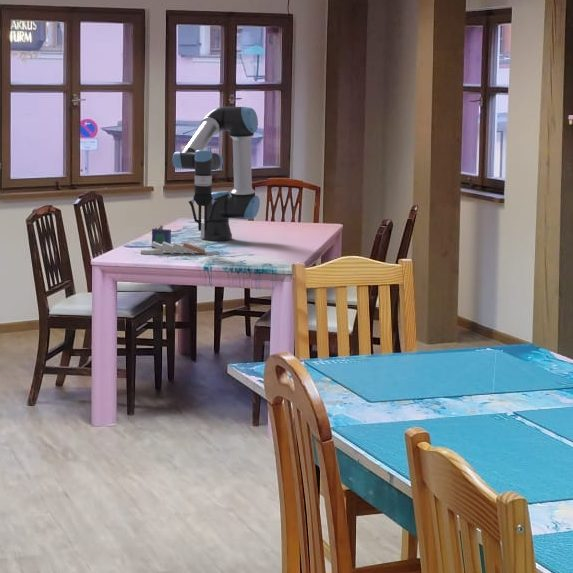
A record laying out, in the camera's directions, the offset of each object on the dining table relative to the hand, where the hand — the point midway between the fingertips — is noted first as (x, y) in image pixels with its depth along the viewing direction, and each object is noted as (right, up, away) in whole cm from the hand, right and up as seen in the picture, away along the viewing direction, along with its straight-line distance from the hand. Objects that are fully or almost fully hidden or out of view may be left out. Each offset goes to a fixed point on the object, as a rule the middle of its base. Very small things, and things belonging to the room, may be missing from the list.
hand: (202, 237), depth 531 cm
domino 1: (-17, -6, -1) cm, 18 cm away
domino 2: (-13, -6, 0) cm, 14 cm away
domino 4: (-4, -6, +1) cm, 7 cm away
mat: (-7, -7, +1) cm, 10 cm away
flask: (-20, -4, +16) cm, 26 cm away
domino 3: (-8, -6, 0) cm, 11 cm away
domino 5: (+1, -6, +1) cm, 6 cm away
